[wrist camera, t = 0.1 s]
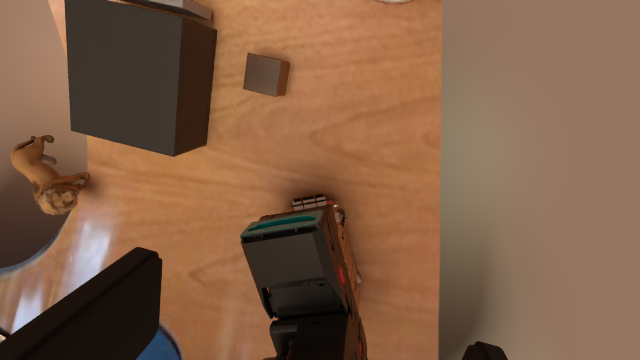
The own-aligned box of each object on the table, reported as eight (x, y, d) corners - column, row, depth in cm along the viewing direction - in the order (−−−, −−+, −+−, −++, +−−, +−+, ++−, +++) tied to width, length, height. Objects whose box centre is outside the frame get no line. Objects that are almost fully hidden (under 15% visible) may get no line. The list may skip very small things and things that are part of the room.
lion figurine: (111, 185, 52) (61, 204, 43) (97, 205, 53) (46, 227, 45) (41, 125, 50) (-25, 133, 42) (28, 147, 52) (-37, 159, 43)
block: (259, 56, 42) (247, 52, 38) (290, 63, 42) (281, 60, 38) (254, 88, 44) (243, 89, 39) (284, 95, 43) (275, 96, 39)
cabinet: (120, 8, 43) (63, -10, 35) (217, 30, 42) (182, 16, 34) (120, 123, 48) (70, 130, 40) (206, 145, 47) (173, 157, 39)
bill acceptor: (337, 178, 46) (309, 274, 22) (368, 303, 52) (372, 486, 28) (273, 191, 48) (185, 292, 24) (310, 310, 54) (267, 486, 30)
